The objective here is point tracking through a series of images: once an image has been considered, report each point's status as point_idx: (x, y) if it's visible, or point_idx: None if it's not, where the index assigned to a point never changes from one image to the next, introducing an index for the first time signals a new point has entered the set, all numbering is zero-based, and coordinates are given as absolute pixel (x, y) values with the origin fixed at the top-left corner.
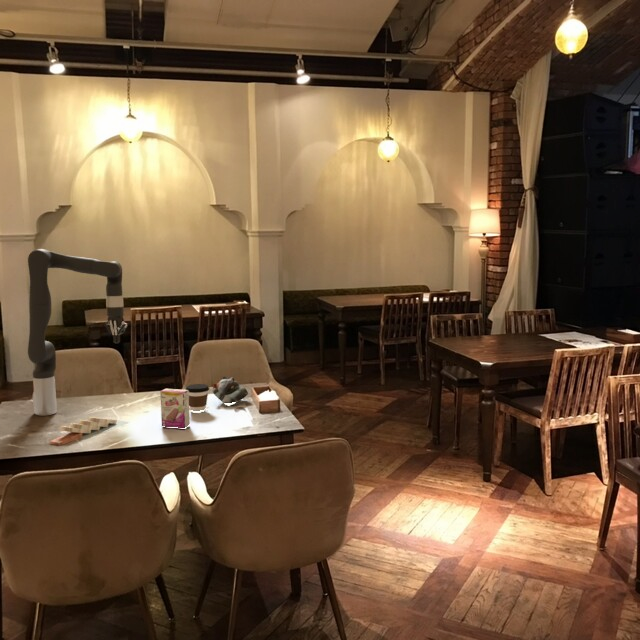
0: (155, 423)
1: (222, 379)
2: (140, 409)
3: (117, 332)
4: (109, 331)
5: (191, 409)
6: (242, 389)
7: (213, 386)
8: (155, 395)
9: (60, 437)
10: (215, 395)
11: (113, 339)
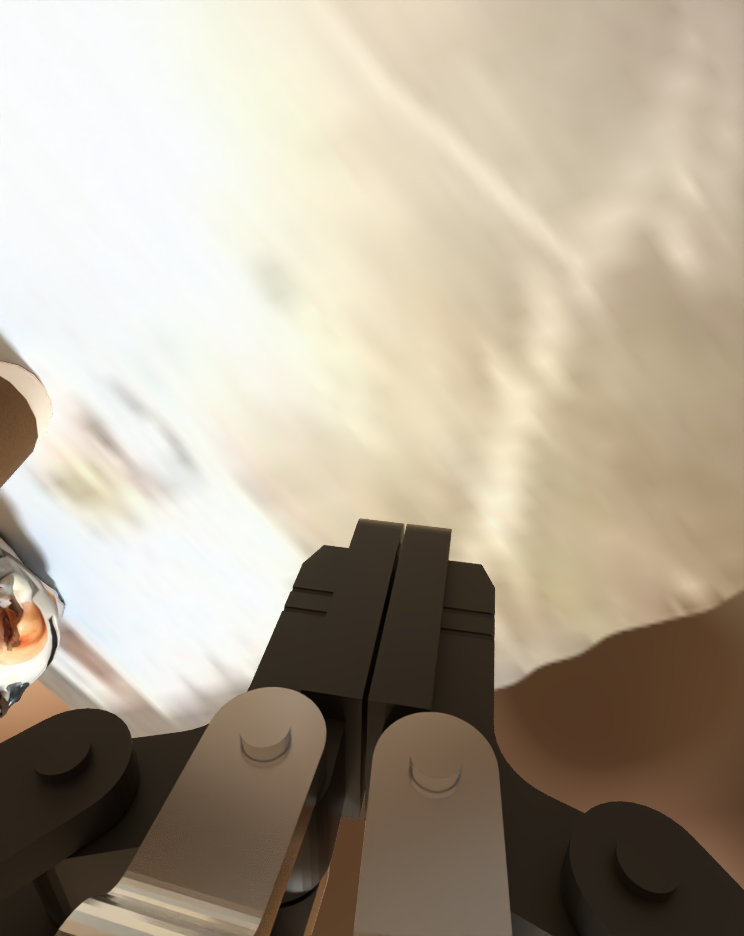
0: (6, 47)
1: (1, 692)
2: (353, 317)
3: (172, 810)
4: (695, 914)
5: (3, 367)
6: None
7: (14, 619)
8: None
9: None
10: (11, 566)
11: (484, 614)
